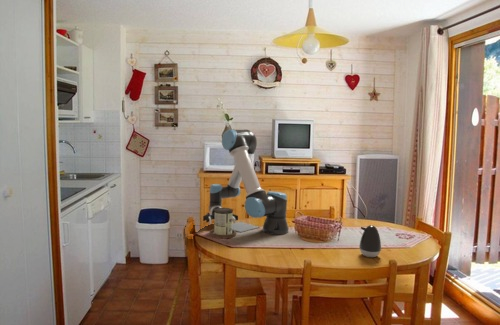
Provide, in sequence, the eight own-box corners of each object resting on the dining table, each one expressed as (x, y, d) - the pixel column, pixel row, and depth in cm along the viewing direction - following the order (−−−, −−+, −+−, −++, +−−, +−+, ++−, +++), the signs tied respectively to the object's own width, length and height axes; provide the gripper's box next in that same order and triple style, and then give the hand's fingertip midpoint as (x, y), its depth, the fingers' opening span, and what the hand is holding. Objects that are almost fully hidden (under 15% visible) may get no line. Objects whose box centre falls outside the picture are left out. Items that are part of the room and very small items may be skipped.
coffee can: (215, 231, 228) (216, 207, 227) (233, 232, 227) (234, 208, 226) (212, 236, 218) (212, 211, 216) (230, 237, 217) (231, 212, 215)
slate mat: (259, 227, 239) (259, 226, 239) (240, 232, 227) (240, 231, 227) (240, 222, 250) (240, 221, 250) (221, 226, 238) (221, 226, 238)
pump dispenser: (355, 252, 200) (357, 222, 198) (375, 252, 200) (377, 222, 199) (362, 259, 190) (364, 228, 188) (383, 259, 190) (386, 228, 189)
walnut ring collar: (241, 234, 223) (241, 232, 223) (222, 239, 212) (222, 237, 212) (223, 229, 233) (223, 226, 233) (204, 233, 222) (204, 231, 222)
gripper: (237, 218, 245) (244, 227, 225) (196, 219, 240) (200, 228, 219) (237, 206, 244) (244, 214, 224) (197, 207, 239) (200, 215, 218)
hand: (222, 221), depth 221 cm, fingers open, 13 cm apart
